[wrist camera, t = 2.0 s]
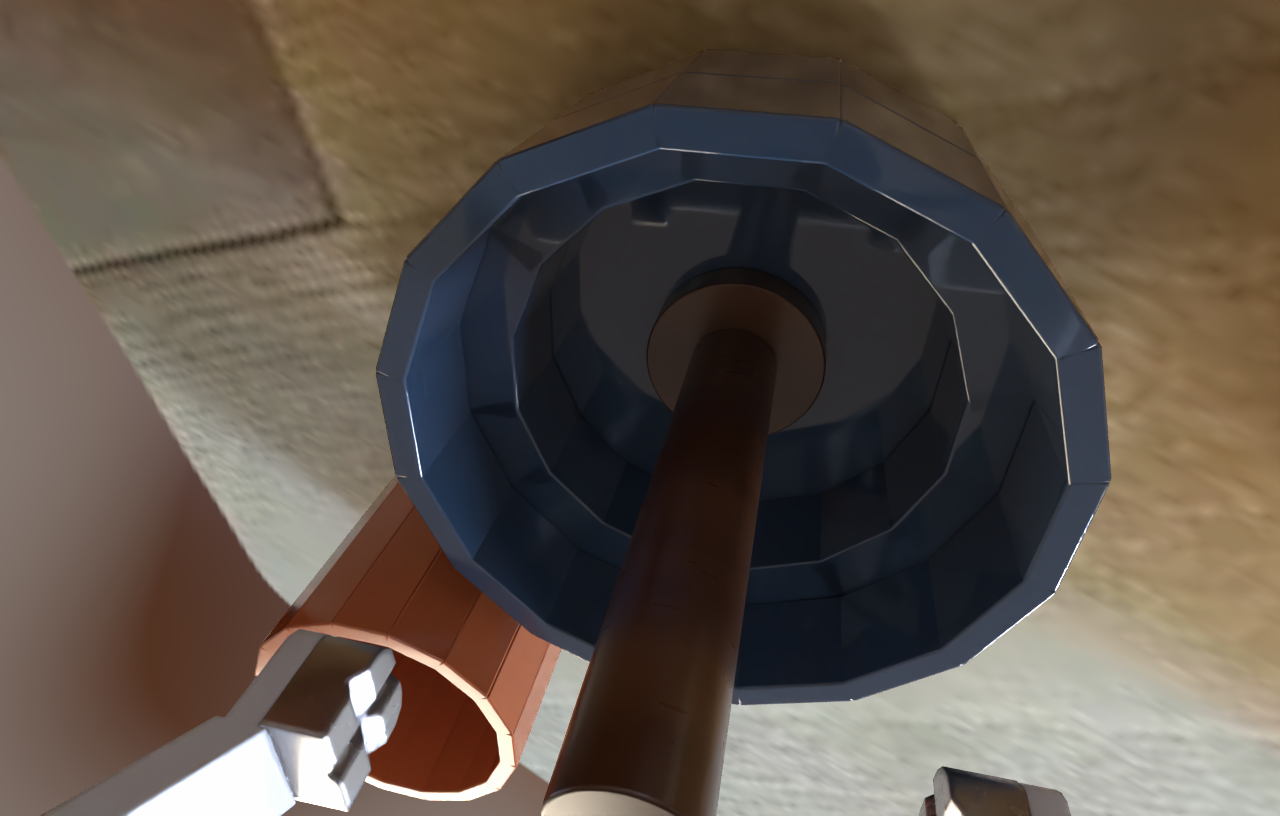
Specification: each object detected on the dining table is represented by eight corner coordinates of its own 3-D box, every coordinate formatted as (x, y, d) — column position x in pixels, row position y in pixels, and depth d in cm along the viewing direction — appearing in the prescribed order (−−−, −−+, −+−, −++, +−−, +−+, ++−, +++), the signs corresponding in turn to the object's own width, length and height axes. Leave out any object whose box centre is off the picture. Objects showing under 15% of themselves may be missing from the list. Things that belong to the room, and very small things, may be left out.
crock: (379, 424, 25) (222, 600, 19) (595, 459, 24) (504, 660, 18) (411, 579, 30) (291, 767, 23) (595, 616, 28) (523, 825, 22)
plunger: (657, 257, 19) (428, 688, 8) (840, 278, 18) (842, 781, 8) (650, 406, 22) (468, 880, 11) (811, 430, 21) (782, 964, 10)
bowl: (471, 27, 18) (314, 76, 12) (1126, 71, 15) (1276, 153, 10) (511, 491, 26) (427, 640, 20) (944, 566, 23) (976, 756, 18)
